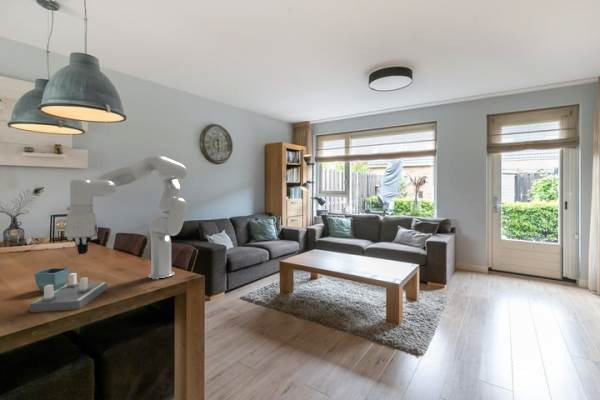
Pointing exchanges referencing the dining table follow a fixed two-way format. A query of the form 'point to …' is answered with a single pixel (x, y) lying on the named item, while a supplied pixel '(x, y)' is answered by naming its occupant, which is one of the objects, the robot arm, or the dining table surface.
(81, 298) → the grey flat block
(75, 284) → the cylinder
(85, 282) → the middle breaker
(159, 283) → the dining table surface
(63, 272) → the flower pot
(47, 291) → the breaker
